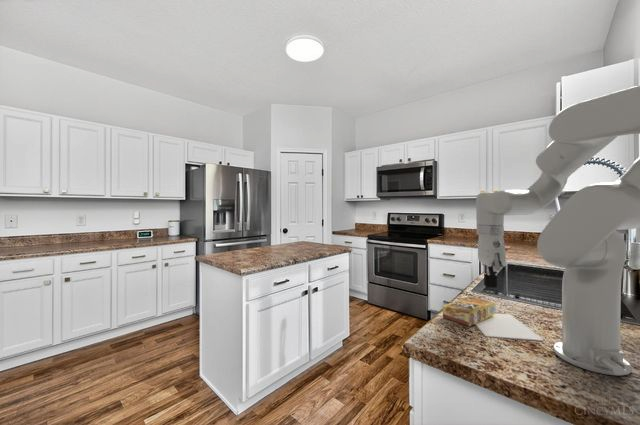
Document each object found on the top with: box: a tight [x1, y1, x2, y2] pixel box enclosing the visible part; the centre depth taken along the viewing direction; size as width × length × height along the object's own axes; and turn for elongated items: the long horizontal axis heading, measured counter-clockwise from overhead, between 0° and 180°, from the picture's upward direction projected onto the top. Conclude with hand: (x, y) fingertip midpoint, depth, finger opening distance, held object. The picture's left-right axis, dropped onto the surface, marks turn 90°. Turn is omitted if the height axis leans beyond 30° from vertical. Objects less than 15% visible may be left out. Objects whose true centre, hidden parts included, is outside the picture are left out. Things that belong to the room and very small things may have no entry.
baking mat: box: [474, 313, 544, 342], centre depth 81 cm, size 18×14×1 cm
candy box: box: [441, 295, 497, 327], centre depth 87 cm, size 9×4×15 cm
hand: (490, 286), depth 87 cm, fingers closed
